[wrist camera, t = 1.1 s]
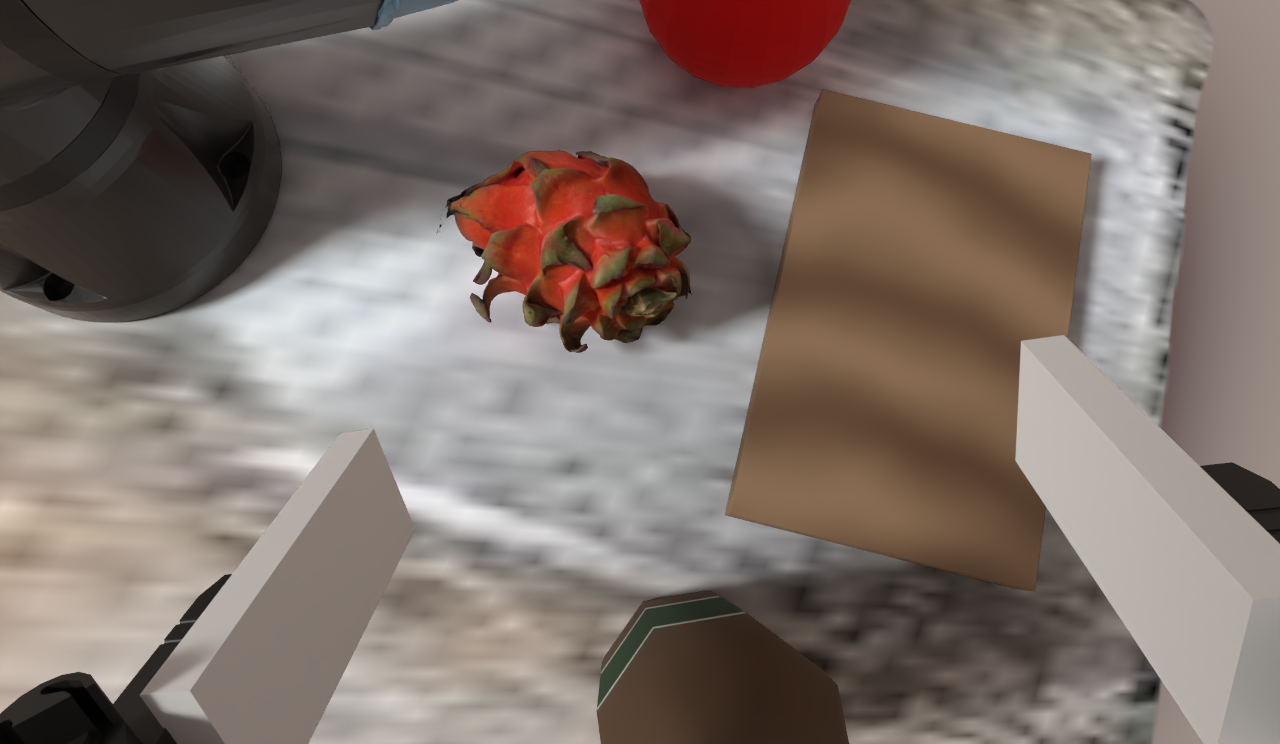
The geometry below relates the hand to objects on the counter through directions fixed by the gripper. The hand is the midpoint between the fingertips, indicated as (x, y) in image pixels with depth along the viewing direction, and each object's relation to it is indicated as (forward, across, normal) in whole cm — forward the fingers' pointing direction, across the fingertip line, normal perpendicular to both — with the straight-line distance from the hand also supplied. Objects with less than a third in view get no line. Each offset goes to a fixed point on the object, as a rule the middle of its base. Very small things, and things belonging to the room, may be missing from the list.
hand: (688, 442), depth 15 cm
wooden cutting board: (+22, +10, -9) cm, 25 cm away
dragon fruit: (+22, -6, -4) cm, 24 cm away
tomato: (+32, +3, +5) cm, 32 cm away
